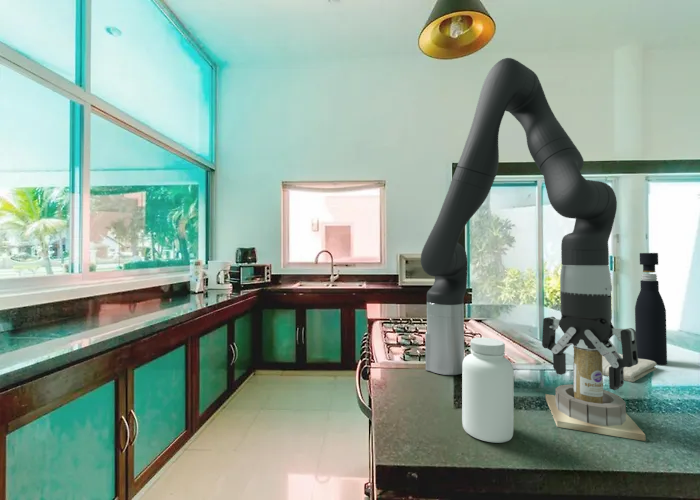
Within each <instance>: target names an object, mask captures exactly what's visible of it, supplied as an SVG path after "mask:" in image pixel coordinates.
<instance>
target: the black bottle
mask: <svg viewBox="0 0 700 500" xmlns="http://www.w3.org/2000/svg"><path fill="white" fill-rule="evenodd" d="M639 265H642V274H641V280H640V282H639V283H640V291H639V293H638V296H637V297H636V301H635V306H634V320H635V321H634V323H635V326H634V330H635V332H636V343H637V353H638V358H639V359H647V360H651V361H654V362H656V363H657V365H656V366H665V365H668V345H667V344H668V343H667V341H668V339H667V312H666V311H667V310H666V306H665V303H664V300H663V297H662V294H660V291H659V289H660V287H659V283H660V282H659V280H658V278H657V277H658V275H657V273H656V266H658V265H659V253H658V252H640V253H639Z"/></svg>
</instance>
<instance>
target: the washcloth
mask: <svg viewBox="0 0 700 500" xmlns="http://www.w3.org/2000/svg"><path fill="white" fill-rule="evenodd" d="M619 355H620V356H621V357H622V358H623V355H622V354H621V353H619ZM656 366H658V365H657V363H656V362H654V361H651V360H647V359H639V358H638V364H636V365H634V366H632V367H624V369H623V370H624V381H625V382H629V383H634V382H636V381H638V380H639V379H641V378H643V377H645V376H646V375H647V374H648V375H649V373H652V372H654V371H657V367H656ZM609 367H611V365H610V364H609V362H608V361H607V360H606V358H605V357H604V356H602V368H603V370H602V371H603V376H605V375H606V377H608V376H609Z"/></svg>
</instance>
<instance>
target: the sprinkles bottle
mask: <svg viewBox="0 0 700 500" xmlns="http://www.w3.org/2000/svg"><path fill="white" fill-rule="evenodd" d="M572 345H573V346H572V347H573V363H572V364H573V369H572V371H573V373H572V374H573V375H572V376H573V378H572V379H573V380H572V381H573V385H574V398H576V399H579V400H583V401H586V402H592V403H599V404H603V390H604V377H603V376H604V375H603V371H602V370H603V368H602V355H601V354H600V353H599V351H598V350H597V349H589V348H588V346H586V345H585V343H584V340H580V341H579V343H578V344H577V346H574V344H572Z"/></svg>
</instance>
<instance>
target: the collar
mask: <svg viewBox="0 0 700 500" xmlns="http://www.w3.org/2000/svg"><path fill="white" fill-rule="evenodd" d="M545 401H546V403H547V405H548V408H549V411H550V410H551V411H550V412H551V416H552V415H553V416H552V418H553V420H554V423H555V425H556V427H558V428H561V429H562V428H564V429H567V430H568V429H570V430H575V431H581V432H585V433H586V432H588V433H594V434H600V435H606V436H612V437H619V438H624V439H630V440H636V441H643V442H646V434H645V433H644V432H643V430H642V429H641V428H640V427H639V426H638V425H637V423H636V422H635V421H634V420H633V419H632V418H631V417H630V416H629V415H628V414H627V411H626V406H627V404H626V401H625V400H624V399H623V398H622V397H621V396H620V395H618V394H616V393H613V392H611V391H608V390H607V389H603V404H599V403H592V402H586V401H583V400H579V399H576V398H574V383H573V384H561V385H558V386H557V387H555V395H554V394H547V393H545Z"/></svg>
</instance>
